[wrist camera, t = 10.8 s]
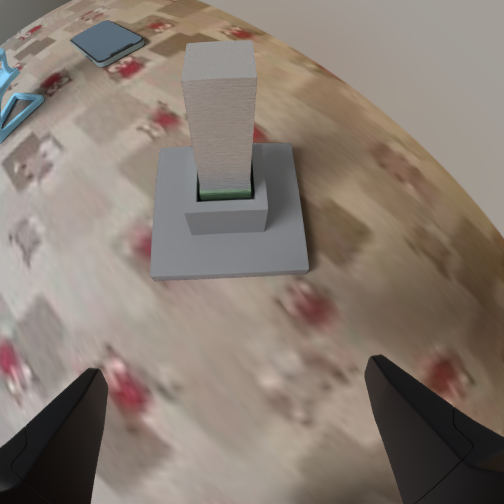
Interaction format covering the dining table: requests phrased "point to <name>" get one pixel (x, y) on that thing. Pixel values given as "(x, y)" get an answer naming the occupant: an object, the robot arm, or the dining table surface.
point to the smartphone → (107, 43)
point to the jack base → (228, 220)
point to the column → (221, 115)
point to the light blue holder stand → (13, 98)
